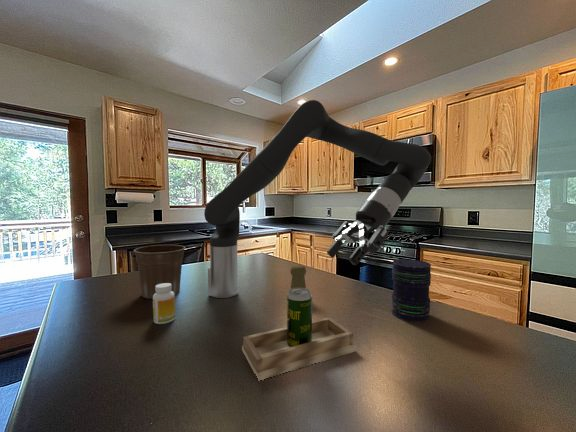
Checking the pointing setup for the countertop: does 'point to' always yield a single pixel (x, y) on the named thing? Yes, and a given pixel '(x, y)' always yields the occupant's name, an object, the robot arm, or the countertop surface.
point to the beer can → (299, 316)
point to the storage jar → (411, 290)
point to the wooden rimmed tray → (296, 348)
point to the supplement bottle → (163, 304)
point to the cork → (298, 276)
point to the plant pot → (159, 267)
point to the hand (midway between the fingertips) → (340, 258)
